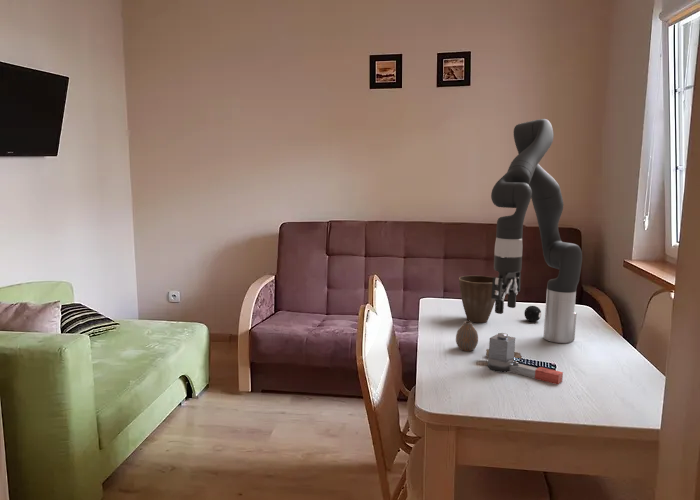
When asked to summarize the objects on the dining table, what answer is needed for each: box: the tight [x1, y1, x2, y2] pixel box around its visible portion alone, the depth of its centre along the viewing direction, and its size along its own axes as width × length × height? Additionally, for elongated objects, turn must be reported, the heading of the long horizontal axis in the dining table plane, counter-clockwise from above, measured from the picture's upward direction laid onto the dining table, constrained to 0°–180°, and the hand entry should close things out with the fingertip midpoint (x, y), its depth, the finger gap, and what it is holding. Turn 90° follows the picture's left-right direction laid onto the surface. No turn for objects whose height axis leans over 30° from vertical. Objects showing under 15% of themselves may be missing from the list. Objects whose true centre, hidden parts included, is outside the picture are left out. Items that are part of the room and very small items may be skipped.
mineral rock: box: [485, 348, 523, 359], centre depth 174 cm, size 11×4×8 cm
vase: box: [455, 321, 479, 352], centre depth 182 cm, size 7×7×9 cm
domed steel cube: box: [487, 332, 516, 362], centre depth 165 cm, size 5×5×7 cm
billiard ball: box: [524, 305, 542, 323], centre depth 217 cm, size 6×6×6 cm
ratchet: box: [487, 358, 564, 386], centre depth 161 cm, size 7×21×6 cm, turn 51°
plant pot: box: [458, 275, 496, 324], centre depth 216 cm, size 15×15×16 cm
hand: (505, 310), depth 163 cm, fingers open, 8 cm apart
